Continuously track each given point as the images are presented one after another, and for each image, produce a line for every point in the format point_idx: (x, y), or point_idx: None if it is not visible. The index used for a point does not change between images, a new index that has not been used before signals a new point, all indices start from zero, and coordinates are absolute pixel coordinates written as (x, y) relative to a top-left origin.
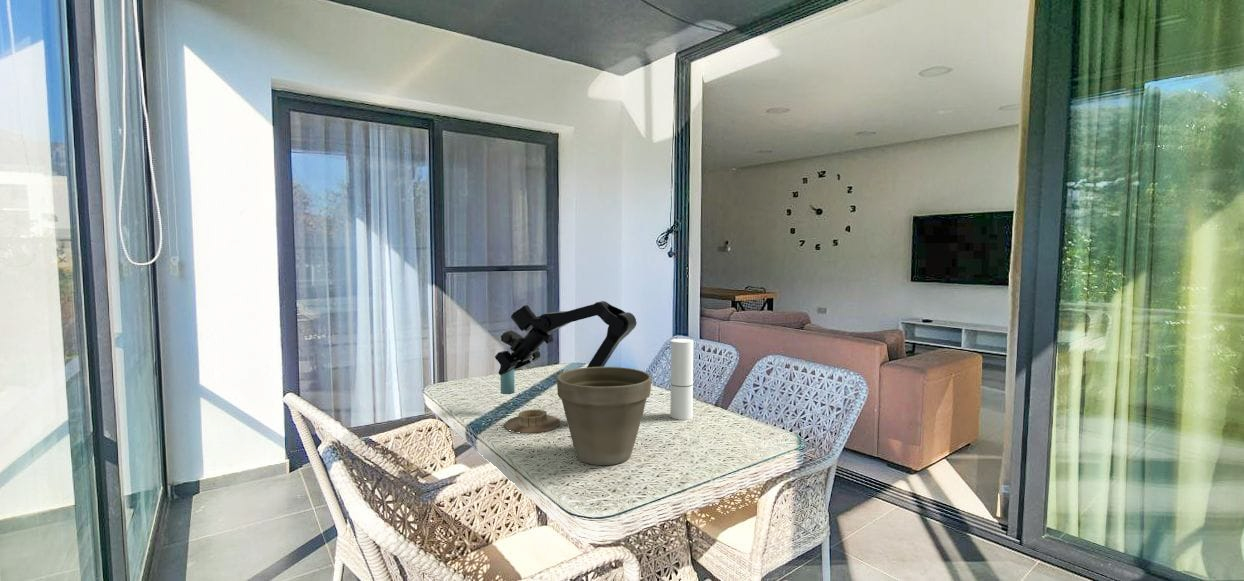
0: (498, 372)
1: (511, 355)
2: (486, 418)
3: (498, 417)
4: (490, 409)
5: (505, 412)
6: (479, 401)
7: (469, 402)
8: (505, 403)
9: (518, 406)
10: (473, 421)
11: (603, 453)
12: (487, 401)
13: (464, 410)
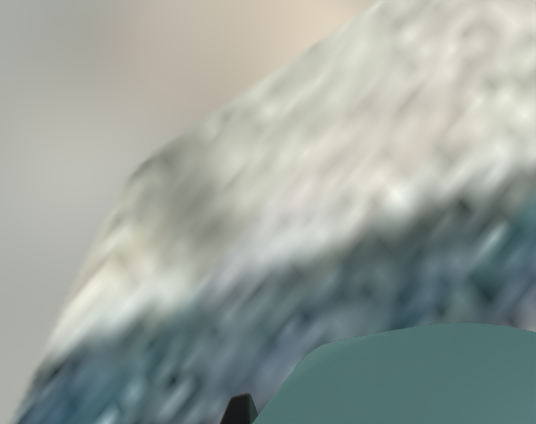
0: (229, 402)
1: None
2: (180, 362)
3: None
4: (317, 236)
5: None
6: (379, 65)
7: (329, 43)
8: (462, 210)
9: None
10: (100, 343)
11: None
12: (410, 97)
13: (214, 139)
